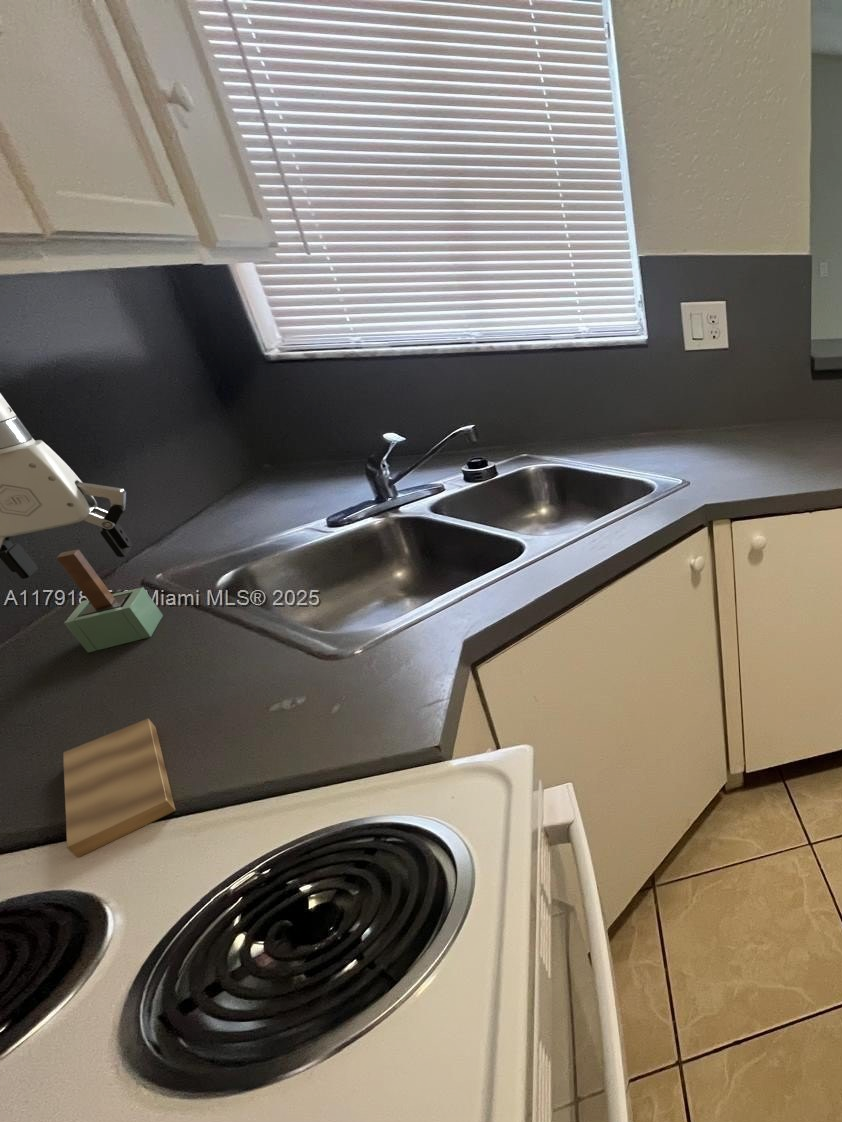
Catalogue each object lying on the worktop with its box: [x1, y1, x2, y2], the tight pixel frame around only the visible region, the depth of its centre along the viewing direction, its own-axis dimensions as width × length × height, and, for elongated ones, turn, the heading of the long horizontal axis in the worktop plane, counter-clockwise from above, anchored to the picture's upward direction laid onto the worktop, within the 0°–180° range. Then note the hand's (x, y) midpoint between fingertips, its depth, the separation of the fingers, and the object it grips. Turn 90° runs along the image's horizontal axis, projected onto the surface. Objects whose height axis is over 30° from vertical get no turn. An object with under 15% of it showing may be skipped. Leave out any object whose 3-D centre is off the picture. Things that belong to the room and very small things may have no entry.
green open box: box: [64, 586, 164, 654], centre depth 89 cm, size 7×7×5 cm
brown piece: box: [56, 549, 130, 616], centre depth 87 cm, size 4×4×13 cm
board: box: [62, 718, 176, 858], centre depth 64 cm, size 18×7×2 cm, turn 47°
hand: (79, 563), depth 84 cm, fingers open, 9 cm apart
